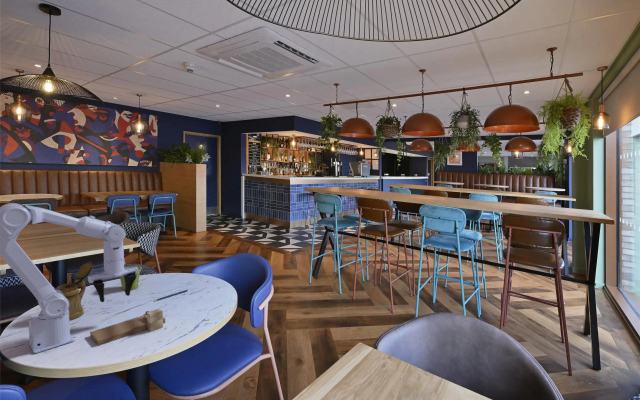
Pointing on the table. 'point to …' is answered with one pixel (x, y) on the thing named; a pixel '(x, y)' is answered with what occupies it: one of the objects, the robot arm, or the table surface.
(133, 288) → the plant pot
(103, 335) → the walnut board
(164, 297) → the pencil
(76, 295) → the wooden mug
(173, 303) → the table surface
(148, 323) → the marking gauge
